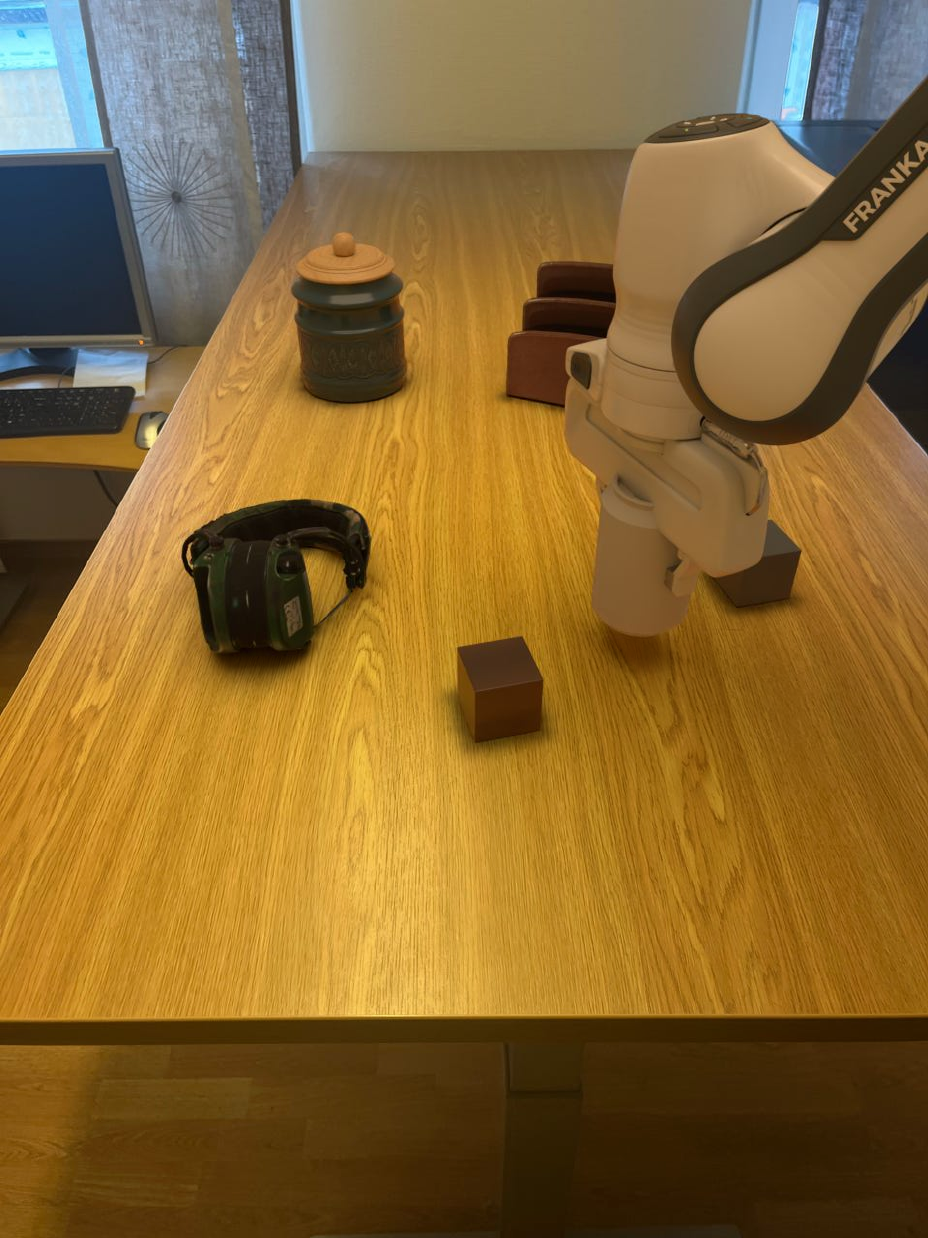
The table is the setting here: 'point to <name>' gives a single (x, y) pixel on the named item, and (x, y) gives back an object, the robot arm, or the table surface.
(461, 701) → the walnut block
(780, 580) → the slate block
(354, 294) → the canister
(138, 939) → the table surface
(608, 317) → the letter holder
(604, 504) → the can
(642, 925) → the table surface
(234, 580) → the headphones
